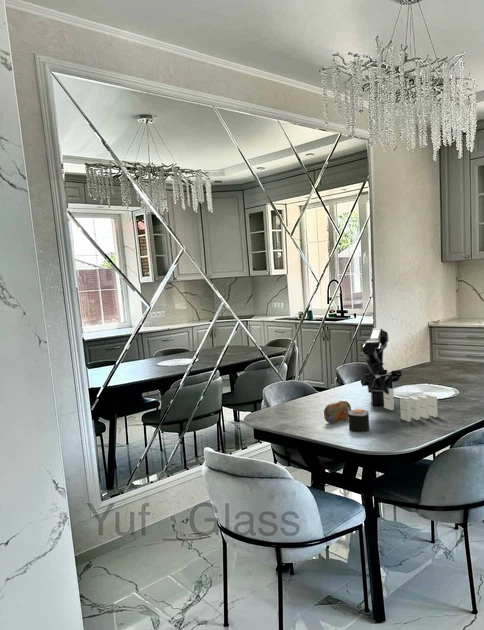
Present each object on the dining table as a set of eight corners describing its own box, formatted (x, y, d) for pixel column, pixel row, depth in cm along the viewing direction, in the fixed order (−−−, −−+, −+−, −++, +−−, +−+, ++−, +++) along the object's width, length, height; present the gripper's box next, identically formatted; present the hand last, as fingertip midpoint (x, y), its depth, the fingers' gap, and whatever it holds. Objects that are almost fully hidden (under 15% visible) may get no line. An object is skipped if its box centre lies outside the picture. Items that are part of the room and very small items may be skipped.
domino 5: (434, 417, 210) (433, 396, 209) (426, 414, 214) (426, 394, 214) (437, 416, 210) (436, 396, 210) (429, 414, 215) (429, 394, 214)
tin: (328, 425, 207) (327, 406, 207) (323, 424, 210) (322, 405, 209) (352, 418, 216) (351, 399, 215) (346, 417, 219) (345, 398, 218)
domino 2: (408, 421, 206) (407, 400, 205) (400, 418, 210) (399, 398, 210) (411, 421, 206) (410, 400, 206) (404, 418, 211) (403, 397, 210)
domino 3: (416, 420, 207) (416, 399, 206) (409, 417, 212) (408, 397, 211) (420, 419, 207) (419, 399, 207) (412, 416, 212) (411, 396, 212)
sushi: (350, 426, 205) (349, 407, 204) (370, 427, 202) (369, 408, 201) (347, 431, 197) (346, 412, 197) (368, 432, 194) (367, 413, 194)
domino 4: (425, 418, 208) (424, 398, 208) (418, 415, 213) (417, 395, 212) (428, 418, 209) (428, 397, 208) (421, 415, 214) (420, 395, 213)
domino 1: (390, 410, 209) (389, 389, 209) (384, 407, 214) (383, 387, 213) (394, 409, 209) (393, 389, 209) (387, 407, 214) (386, 387, 214)
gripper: (385, 373, 228) (400, 401, 219) (350, 377, 223) (364, 406, 213) (395, 358, 220) (411, 387, 211) (358, 363, 215) (373, 392, 205)
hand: (390, 393), depth 210 cm, fingers closed on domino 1, 2 cm apart
